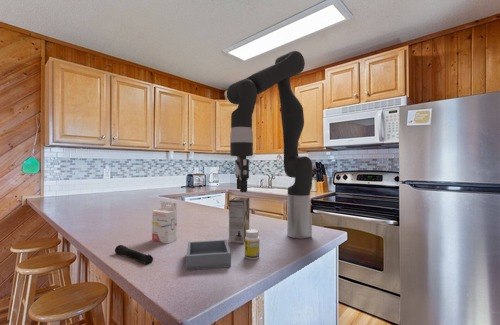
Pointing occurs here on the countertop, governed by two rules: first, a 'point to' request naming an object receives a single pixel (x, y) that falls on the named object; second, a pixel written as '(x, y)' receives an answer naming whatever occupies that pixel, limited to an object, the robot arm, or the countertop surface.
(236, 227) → the coffee box
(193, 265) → the bin
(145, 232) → the countertop surface
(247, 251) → the supplement bottle
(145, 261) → the flashlight
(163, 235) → the ink cartridge box
